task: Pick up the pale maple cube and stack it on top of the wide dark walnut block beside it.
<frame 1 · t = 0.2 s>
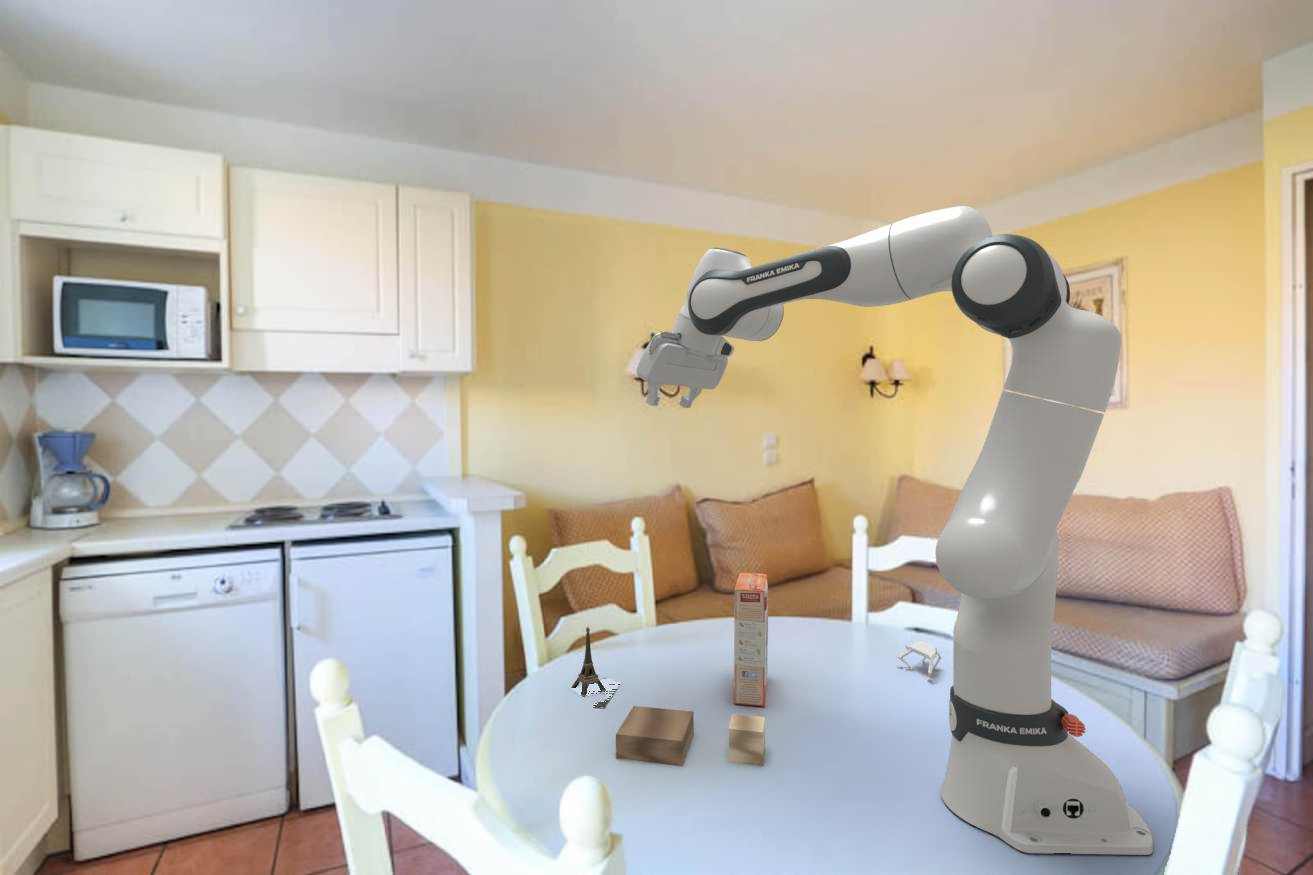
hand: (668, 405, 117), 54 cm above the table, tool tilted 30°, fingers open, 8 cm apart
cracker box: (752, 692, 117), on the table
eiffel tower figurine: (590, 694, 118), on the table
maple cube: (747, 756, 93), on the table
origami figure: (923, 674, 125), on the table
walnut block: (656, 748, 96), on the table
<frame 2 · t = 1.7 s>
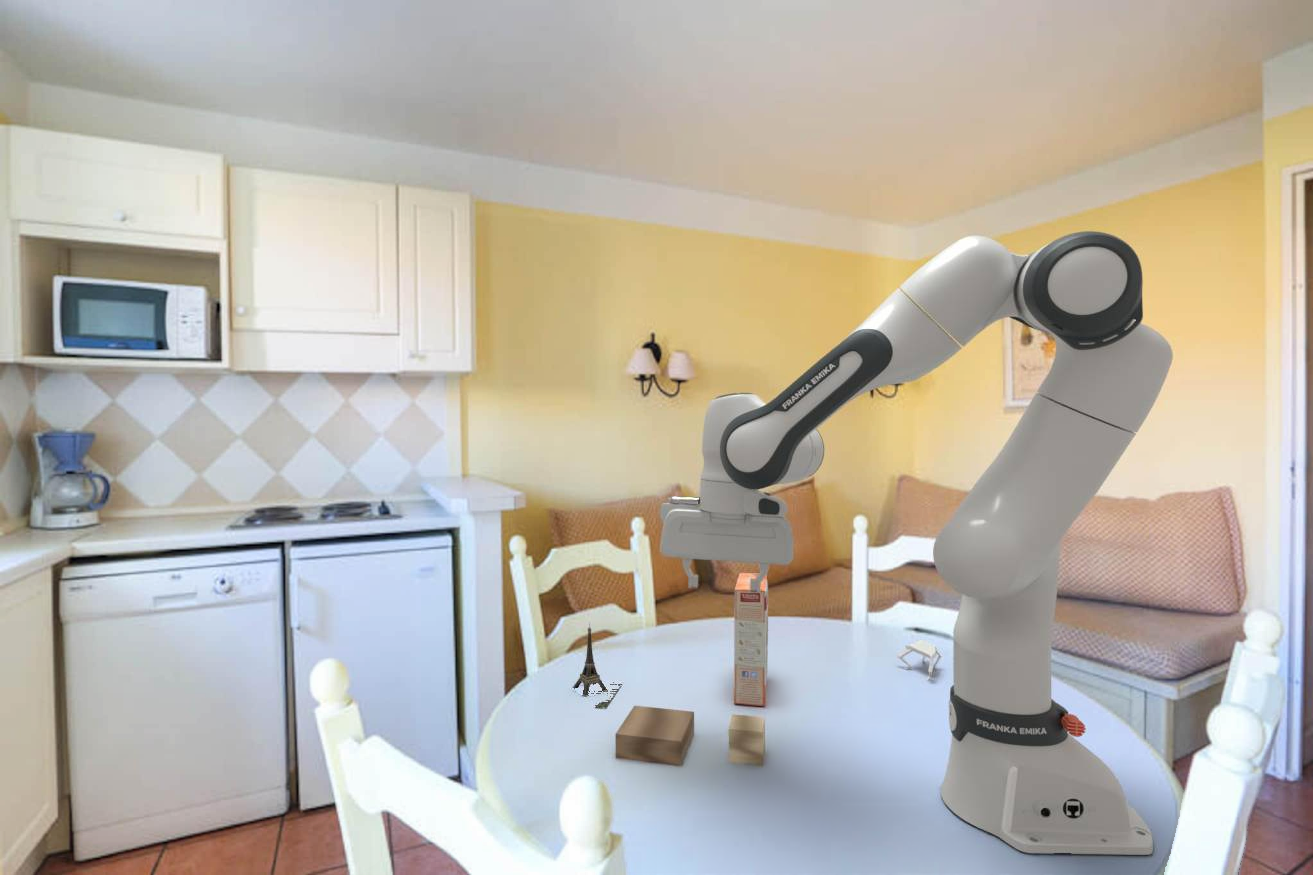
hand: (723, 589, 95), 24 cm above the table, tool pointing down, fingers open, 8 cm apart
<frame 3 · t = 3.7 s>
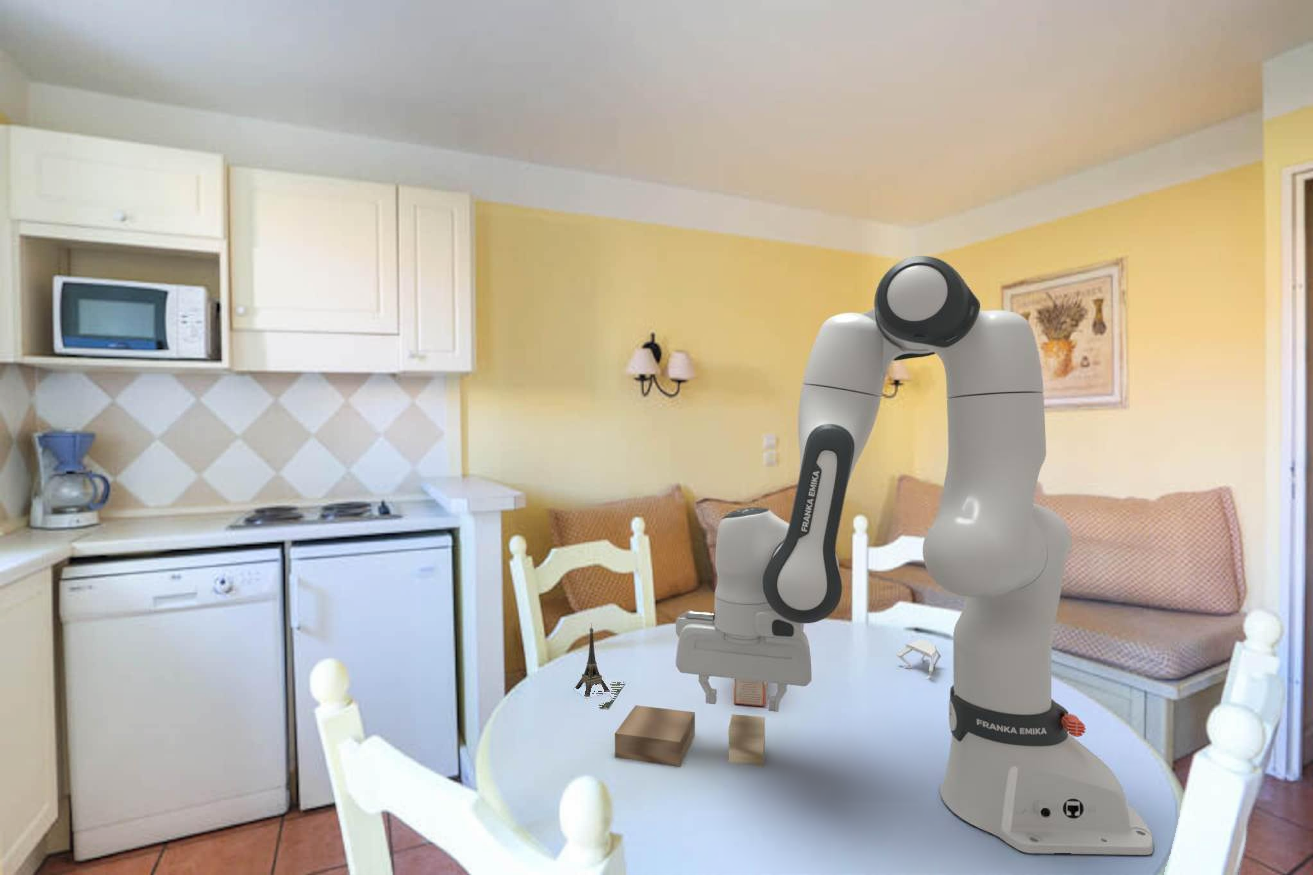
hand: (742, 706, 94), 7 cm above the table, tool pointing down, fingers open, 8 cm apart
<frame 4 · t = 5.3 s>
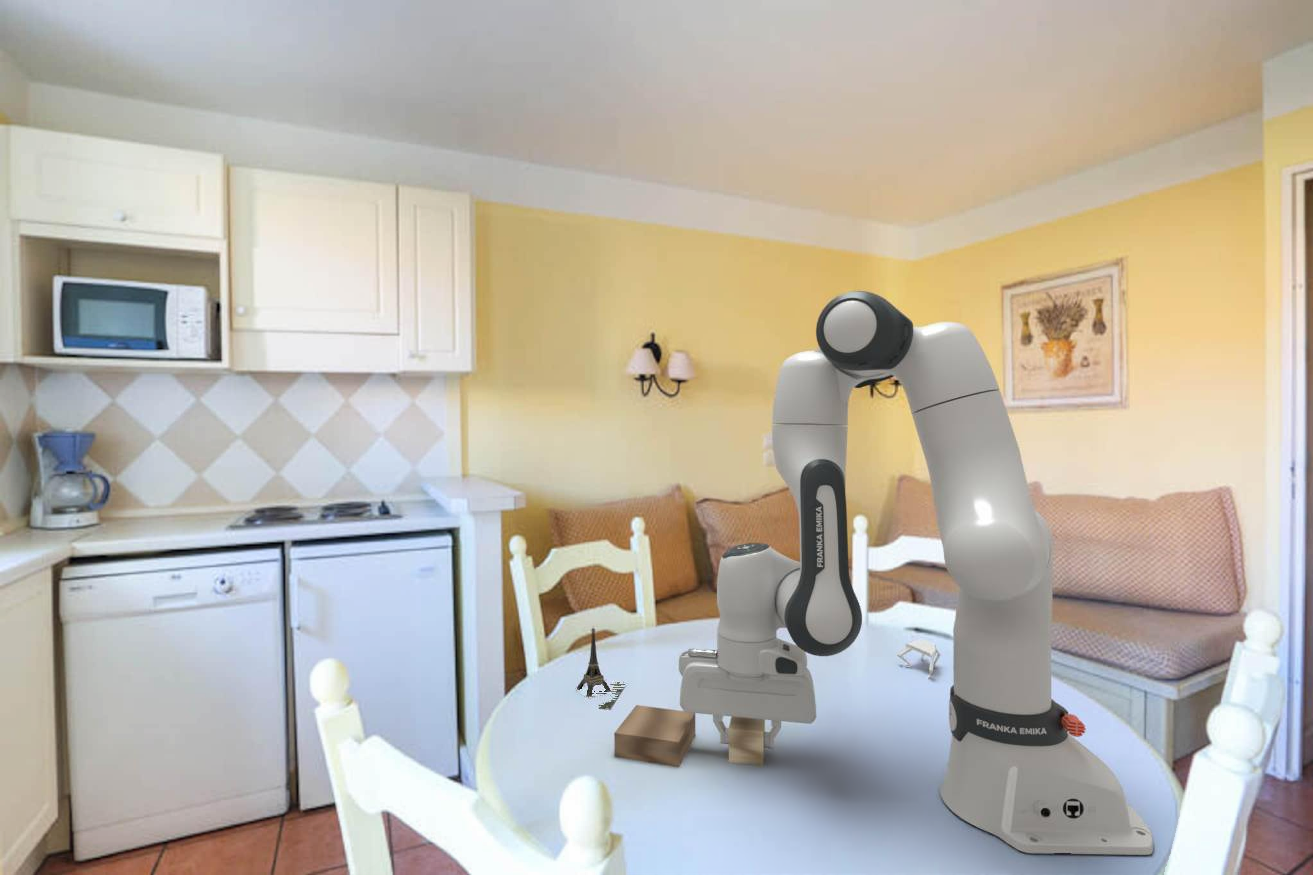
hand: (747, 744, 93), 2 cm above the table, tool pointing down, fingers closed on maple cube, 5 cm apart
maple cube: (747, 755, 93), on the table, touching gripper
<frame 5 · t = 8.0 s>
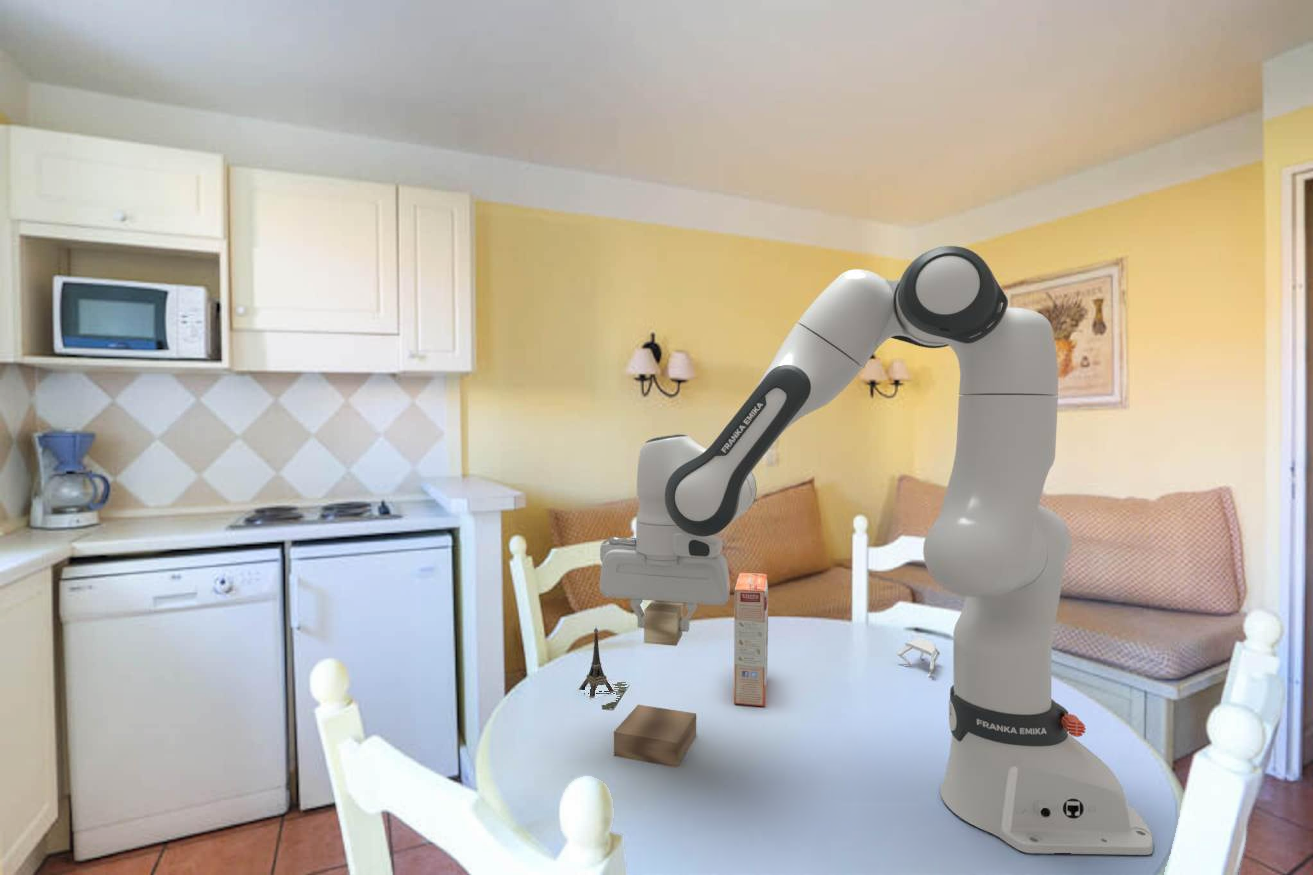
hand: (663, 628, 96), 18 cm above the table, tool pointing down, fingers closed on maple cube, 5 cm apart
maple cube: (663, 638, 96), point 17 cm above the table, touching gripper
when the fingers open (7 cm above the table, at t = 10.9 s): maple cube drops 2 cm, resting on walnut block.
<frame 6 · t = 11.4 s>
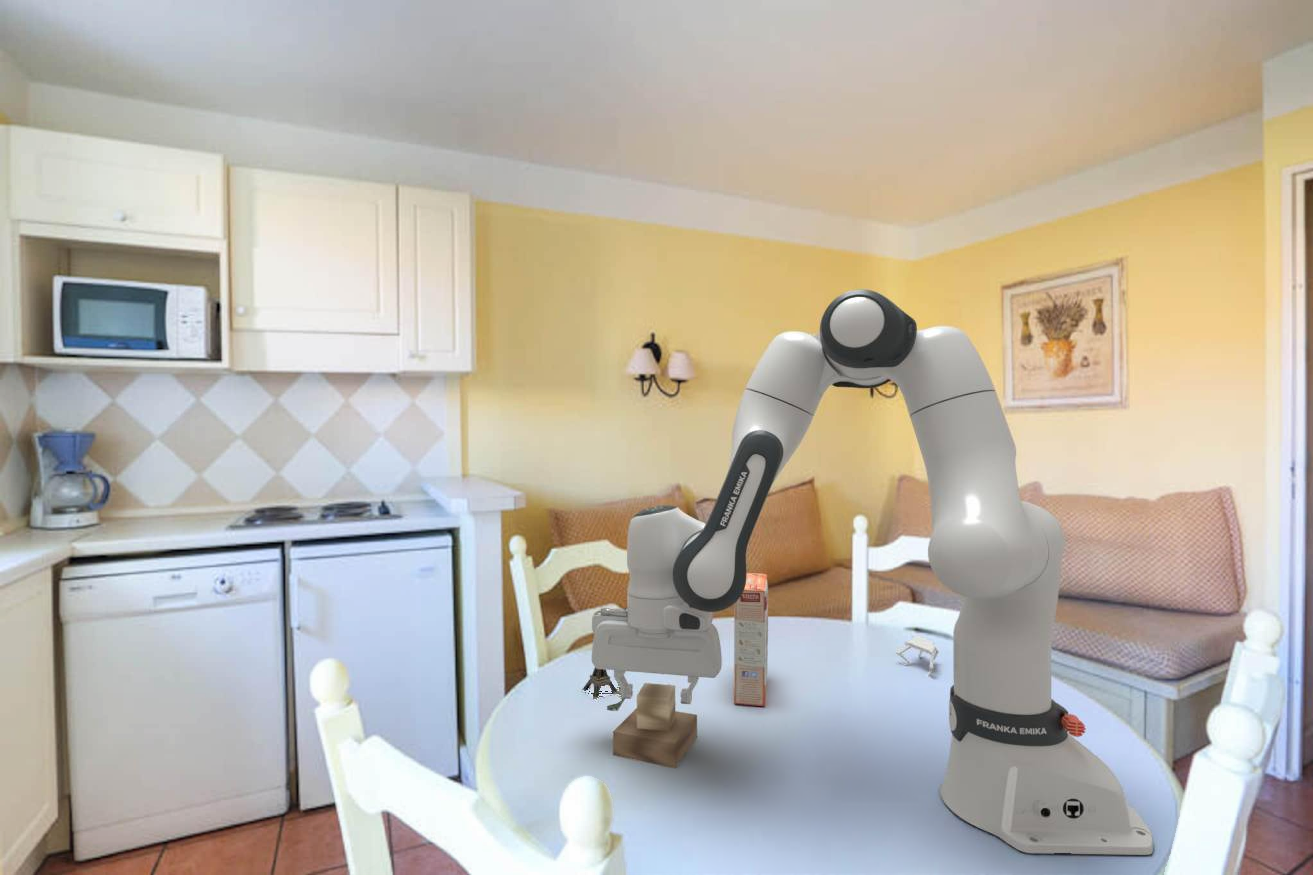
hand: (656, 699, 96), 7 cm above the table, tool pointing down, fingers open, 8 cm apart
maple cube: (656, 722, 96), point 4 cm above the table, touching walnut block
walnut block: (656, 748, 96), on the table, touching maple cube
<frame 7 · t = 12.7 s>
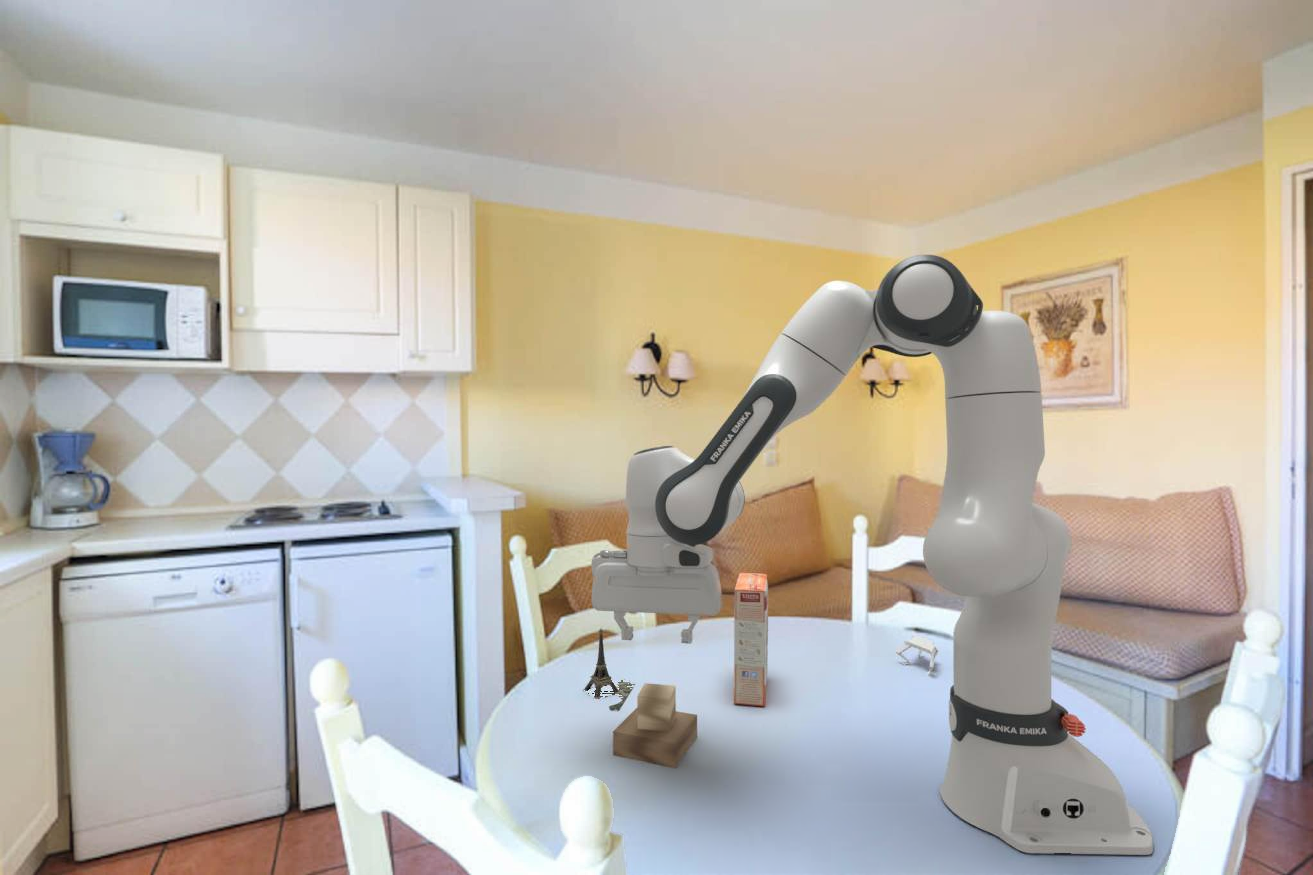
hand: (656, 640, 96), 16 cm above the table, tool pointing down, fingers open, 8 cm apart
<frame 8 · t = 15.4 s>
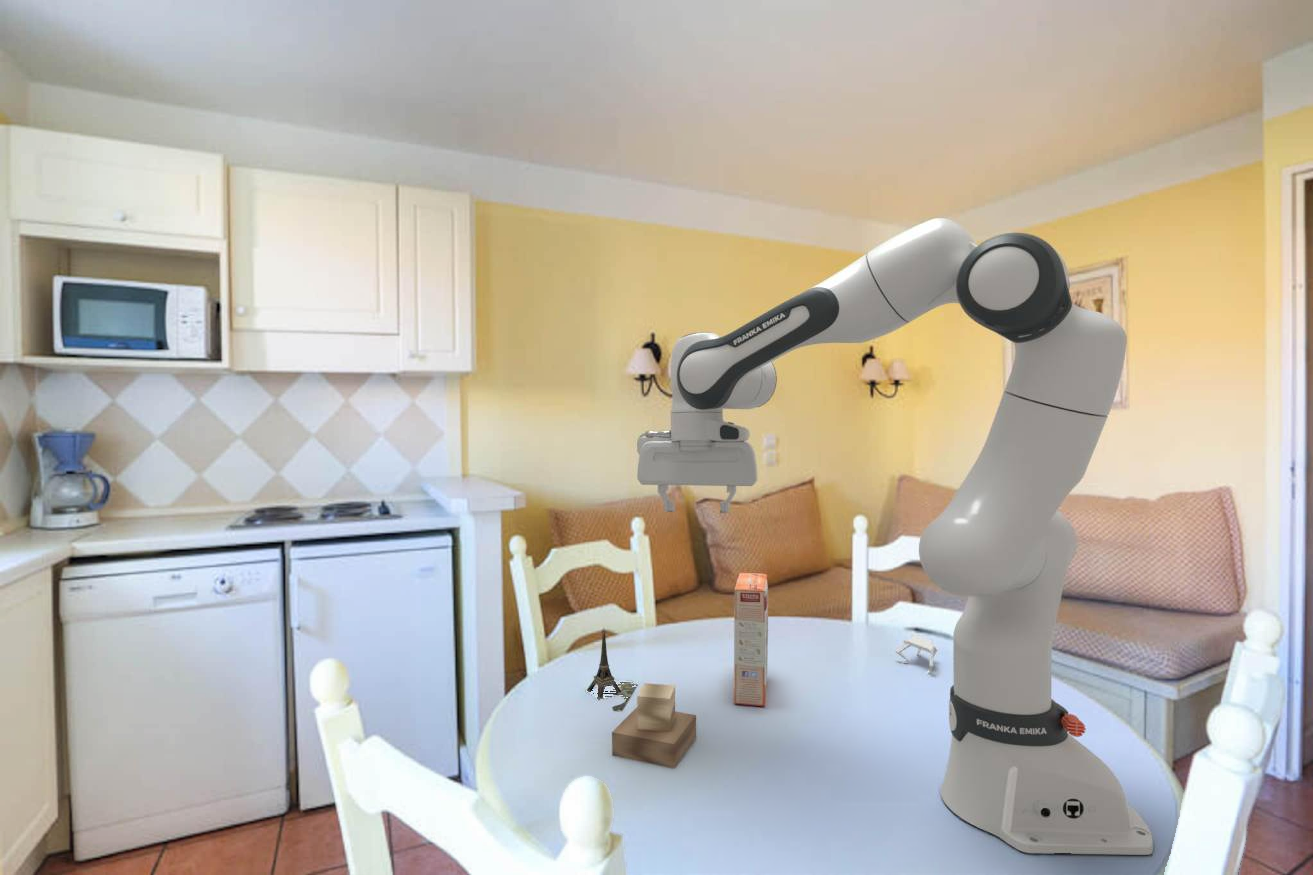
hand: (697, 512, 105), 35 cm above the table, tool pointing down, fingers open, 8 cm apart
at the end: maple cube 0.3 cm off-centre on the walnut block, point 4.0 cm above the walnut block's base; maple cube tilted 0°; maple cube touching walnut block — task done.
